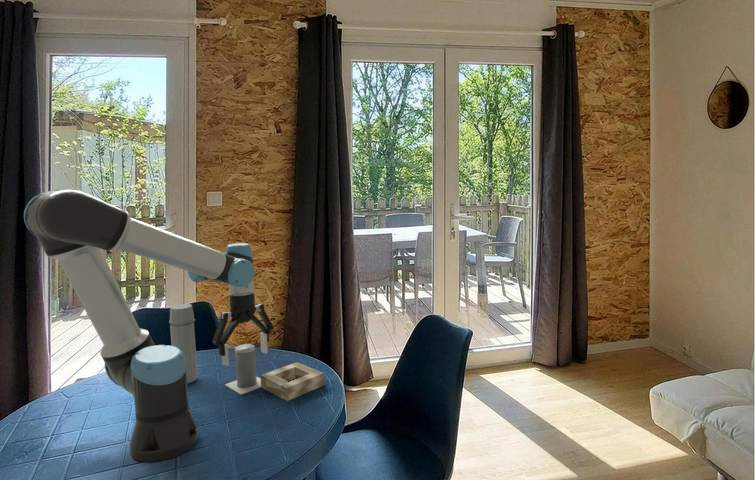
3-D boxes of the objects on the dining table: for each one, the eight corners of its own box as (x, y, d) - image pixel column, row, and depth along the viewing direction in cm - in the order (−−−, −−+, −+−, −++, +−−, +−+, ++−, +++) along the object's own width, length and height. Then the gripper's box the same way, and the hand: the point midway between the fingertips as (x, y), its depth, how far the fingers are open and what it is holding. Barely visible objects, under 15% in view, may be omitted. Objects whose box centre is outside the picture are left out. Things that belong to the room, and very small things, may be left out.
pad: (240, 395, 135) (240, 393, 135) (225, 385, 141) (224, 384, 141) (269, 384, 142) (269, 383, 142) (252, 375, 149) (252, 374, 149)
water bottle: (193, 385, 142) (187, 309, 139) (169, 385, 142) (163, 309, 140) (204, 373, 151) (199, 302, 148) (182, 373, 151) (176, 302, 149)
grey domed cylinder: (243, 389, 137) (240, 352, 136) (233, 384, 141) (231, 347, 140) (260, 383, 142) (258, 347, 140) (250, 378, 146) (248, 342, 144)
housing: (287, 401, 130) (286, 388, 130) (261, 387, 140) (260, 375, 139) (324, 385, 140) (323, 373, 140) (297, 373, 150) (297, 362, 149)
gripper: (208, 302, 127) (213, 374, 129) (282, 287, 145) (285, 350, 147) (197, 298, 132) (202, 367, 134) (269, 284, 150) (272, 345, 152)
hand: (245, 358), depth 141 cm, fingers open, 13 cm apart
